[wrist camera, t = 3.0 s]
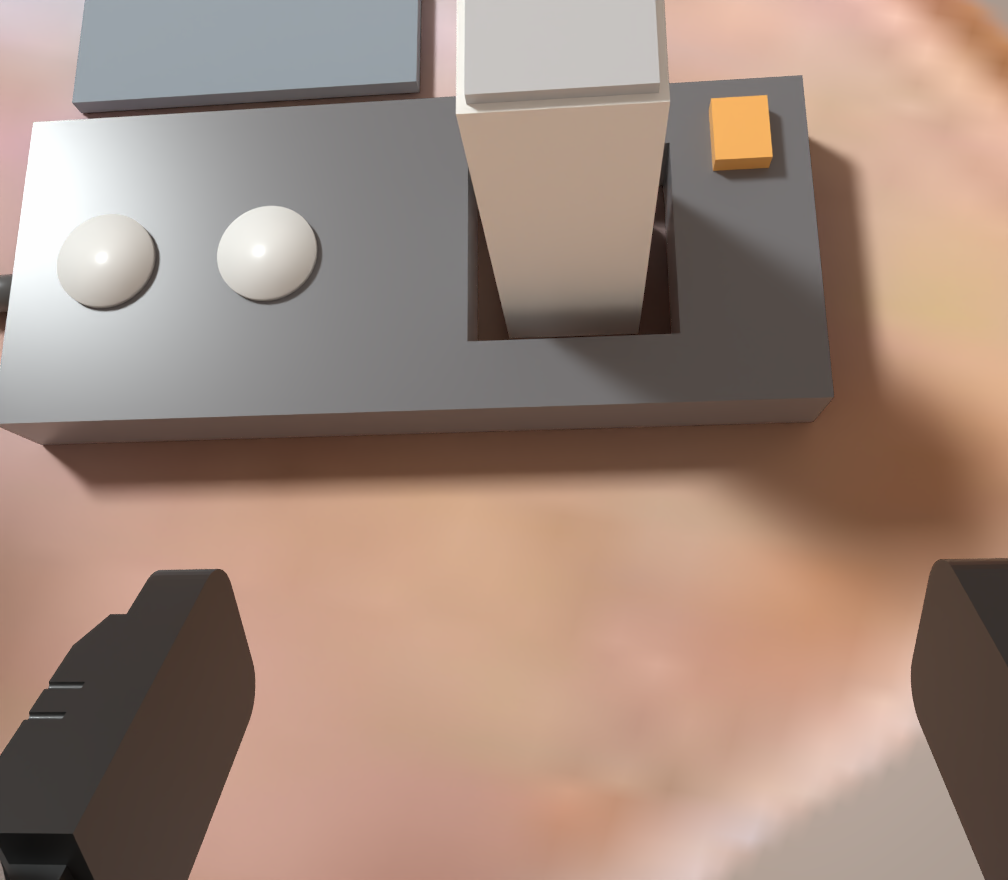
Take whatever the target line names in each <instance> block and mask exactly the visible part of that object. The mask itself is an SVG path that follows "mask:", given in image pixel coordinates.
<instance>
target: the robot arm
mask: <svg viewBox="0 0 1008 880" xmlns="http://www.w3.org/2000/svg"><path fill="white" fill-rule="evenodd" d="M911 688H912V696H913V702H914V707H915V711H916V714H917V717H918V720H919V723H920V725H921V728H922V730H923V732H924V735H925V737H926V740H927V742H928V744H929V747H930V749H931V752H932V754H933V756H934V759H935V761H936V763H937V766H938V768H939V771H940V773H941V775H942V778H943V780H944V782H945V785H946V787H947V790H948V792H949V795H950V797H951V799H952V802H953V804H954V806H955V809H956V811H957V814H958V816H959V818H960V821H961V823H962V826H963V828H964V830H965V833H966V835H967V838H968V840H969V842H970V845H971V847H972V850H973V852H974V854H975V857H976V859H977V861H978V864H979V866H980V869H981V871H982V874H983V876H984V878H985V880H1008V558H995V559H940V560H938V561H936V562H935V564H934V565H933V567H932V569H931V572H930V576H929V580H928V585H927V590H926V595H925V600H924V605H923V610H922V615H921V619H920V624H919V629H918V634H917V639H916V644H915V649H914V654H913V659H912V665H911ZM254 697H255V672H254V665H253V661H252V658H251V654H250V650H249V647H248V643H247V639H246V636H245V632H244V629H243V625H242V621H241V618H240V614H239V611H238V607H237V603H236V600H235V596H234V592H233V589H232V585H231V582H230V580H229V578H228V576H227V574H226V573H225V572H224V571H223V570H221V569H195V570H158V571H156V572H154V573H153V574H152V575H151V576H150V577H149V579H148V580H147V582H146V583H145V585H144V587H143V588H142V590H141V592H140V593H139V595H138V596H137V598H136V600H135V601H134V603H133V605H132V606H131V608H130V609H129V611H128V613H127V614H110V615H109V616H108V617H107V618H106V619H104V620H103V621H102V622H101V623H100V624H98V625H97V626H96V627H95V628H94V629H92V630H91V631H90V632H89V633H88V634H86V635H85V636H84V637H83V638H82V639H80V640H79V641H78V642H77V643H76V644H74V645H73V646H72V648H71V649H70V651H69V652H68V654H67V655H66V657H65V658H64V660H63V661H62V663H61V664H60V666H59V667H58V669H57V670H56V672H55V674H54V675H53V677H52V678H51V680H50V681H49V688H48V689H44V690H43V692H42V693H41V695H40V696H39V698H38V699H37V701H36V702H35V704H34V705H33V707H32V708H31V710H30V711H29V714H30V716H29V719H28V720H24V721H23V722H22V724H21V725H20V727H19V728H18V730H17V731H16V733H15V734H14V736H13V737H12V739H11V740H10V742H9V743H8V745H7V746H6V748H5V749H4V751H3V752H2V754H1V755H0V880H188V878H189V875H190V872H191V870H192V867H193V865H194V862H195V859H196V857H197V854H198V852H199V849H200V847H201V844H202V841H203V839H204V836H205V834H206V831H207V829H208V826H209V823H210V821H211V818H212V816H213V813H214V810H215V808H216V805H217V803H218V800H219V798H220V795H221V792H222V790H223V787H224V785H225V782H226V780H227V777H228V774H229V772H230V769H231V767H232V764H233V761H234V759H235V756H236V754H237V751H238V749H239V746H240V743H241V741H242V738H243V736H244V733H245V731H246V728H247V725H248V723H249V720H250V717H251V714H252V710H253V704H254Z"/></svg>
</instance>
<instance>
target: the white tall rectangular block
mask: <svg viewBox="0 0 1008 880" xmlns="http://www.w3.org/2000/svg"><path fill="white" fill-rule="evenodd" d="M669 107H670V90H669V73H668V55H667V38H666V21H665V3H664V0H457V25H456V117H457V121H458V125H459V130H460V134H461V138H462V142H463V146H464V150H465V155H466V159H467V163H468V167H469V171H470V175H471V180H472V184H473V188H474V192H475V196H476V200H477V205H478V209H479V213H480V217H481V221H482V226H483V230H484V234H485V238H486V242H487V246H488V251H489V255H490V259H491V263H492V267H493V271H494V276H495V280H496V284H497V288H498V292H499V296H500V301H501V305H502V309H503V313H504V317H505V321H506V326H507V330H508V334H509V338H536V337H562V336H588V335H614V334H638V333H639V326H640V319H641V311H642V304H643V297H644V289H645V282H646V275H647V267H648V260H649V253H650V245H651V238H652V231H653V224H654V216H655V209H656V202H657V194H658V187H659V180H660V172H661V165H662V158H663V150H664V143H665V136H666V128H667V121H668V114H669Z"/></svg>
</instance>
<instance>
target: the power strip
mask: <svg viewBox="0 0 1008 880" xmlns="http://www.w3.org/2000/svg"><path fill="white" fill-rule="evenodd" d="M669 90H670V107H669V114H668V121H667V128H666V136H665V143H664V150H663V158H662V165H661V172H660V180H659V186H663V190H664V208H665V227H666V245H667V264H668V282H669V300H670V319H671V334H652V335H626V336H600V337H573V338H547V339H521V340H495V341H478V205H477V200H476V196H475V192H474V188H473V184H472V180H471V175H470V171H469V167H468V163H467V159H466V155H465V150H464V146H463V142H462V138H461V134H460V130H459V125H458V121H457V117H456V97H439V98H423V99H407V100H390V101H374V102H357V103H341V104H325V105H308V106H292V107H275V108H259V109H243V110H226V111H210V112H194V113H177V114H161V115H144V116H128V117H112V118H95V119H79V120H63V121H46V122H33V129H32V136H31V144H30V151H29V159H28V166H27V173H26V181H25V188H24V195H23V203H22V210H21V217H20V225H19V232H18V239H17V247H16V254H15V262H14V269H13V274H10V275H0V312H8V313H7V320H6V328H5V335H4V343H3V350H2V357H1V365H0V427H1V428H3V429H5V430H8V431H10V432H12V433H15V434H17V435H19V436H22V437H24V438H26V439H29V440H31V441H33V442H36V443H38V444H41V445H50V444H84V443H117V442H151V441H185V440H219V439H252V438H286V437H320V436H354V435H387V434H421V433H455V432H489V431H522V430H556V429H590V428H624V427H657V426H691V425H725V424H759V423H792V422H813V421H814V420H815V419H816V418H817V417H818V415H819V414H820V413H821V412H822V411H823V410H824V408H825V407H826V406H827V405H828V404H829V403H830V401H831V400H832V399H833V398H834V391H833V381H832V371H831V361H830V351H829V341H828V331H827V321H826V311H825V300H824V290H823V280H822V270H821V260H820V250H819V240H818V230H817V220H816V210H815V199H814V189H813V179H812V169H811V159H810V149H809V139H808V129H807V119H806V109H805V98H804V88H803V78H802V75H800V76H783V77H767V78H750V79H734V80H718V81H701V82H685V83H669Z"/></svg>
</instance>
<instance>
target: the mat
mask: <svg viewBox="0 0 1008 880" xmlns="http://www.w3.org/2000/svg"><path fill="white" fill-rule="evenodd" d="M420 37H421V0H85V5H84V13H83V21H82V29H81V37H80V45H79V53H78V61H77V69H76V77H75V85H74V93H73V101H72V103H73V104H74V105H75V106H76V108H77V109H78V110H79V111H80V112H81V113H91V112H107V111H123V110H139V109H155V108H172V107H188V106H204V105H220V104H237V103H253V102H269V101H285V100H301V99H318V98H334V97H350V96H366V95H383V94H399V93H415V92H419V91H420Z"/></svg>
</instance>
